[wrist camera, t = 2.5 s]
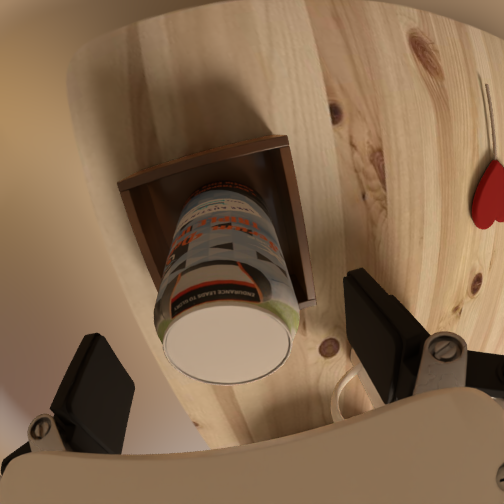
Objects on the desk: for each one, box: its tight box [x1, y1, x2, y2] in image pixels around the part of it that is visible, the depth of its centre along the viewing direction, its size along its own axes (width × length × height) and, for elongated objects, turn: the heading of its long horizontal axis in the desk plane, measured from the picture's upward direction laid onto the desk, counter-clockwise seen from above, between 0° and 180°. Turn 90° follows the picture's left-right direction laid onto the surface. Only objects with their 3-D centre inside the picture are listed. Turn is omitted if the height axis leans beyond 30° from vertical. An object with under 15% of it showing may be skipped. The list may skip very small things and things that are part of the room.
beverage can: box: [154, 180, 300, 386], centre depth 15 cm, size 6×7×12 cm
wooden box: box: [117, 134, 317, 310], centre depth 19 cm, size 11×10×4 cm
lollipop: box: [472, 84, 504, 229], centre depth 20 cm, size 8×1×15 cm
